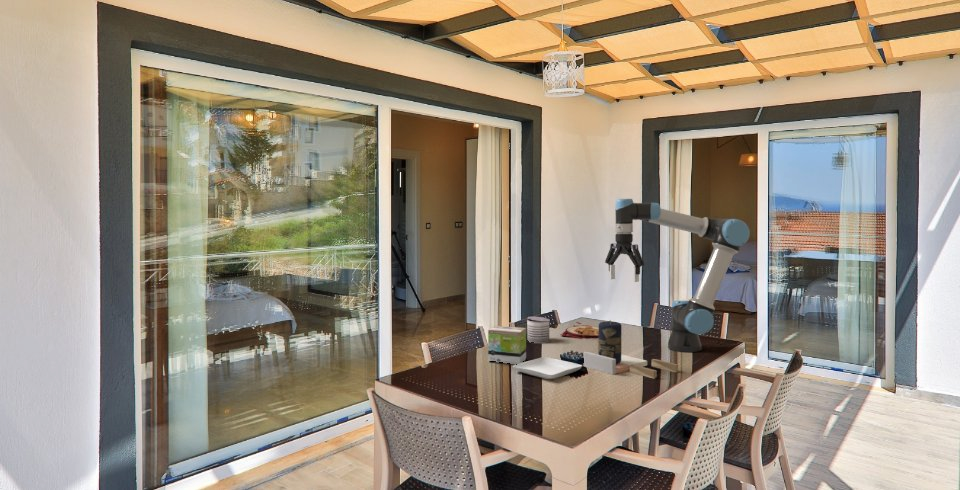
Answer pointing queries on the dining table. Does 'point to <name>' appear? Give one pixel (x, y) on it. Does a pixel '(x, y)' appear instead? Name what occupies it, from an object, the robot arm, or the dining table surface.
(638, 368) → the rails
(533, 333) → the can
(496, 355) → the tea box
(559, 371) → the salad plate
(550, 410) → the dining table surface
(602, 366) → the board
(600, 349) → the canister
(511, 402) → the dining table surface
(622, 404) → the dining table surface
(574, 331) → the plate with food
